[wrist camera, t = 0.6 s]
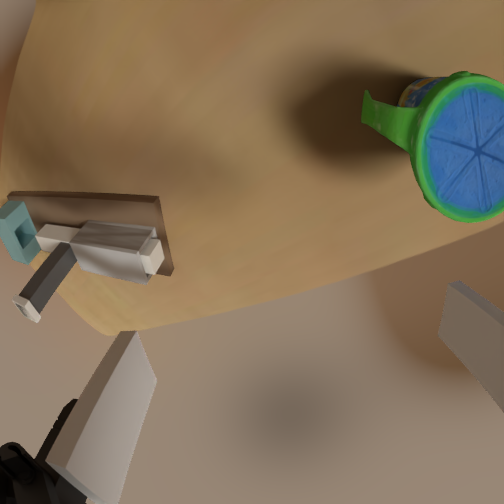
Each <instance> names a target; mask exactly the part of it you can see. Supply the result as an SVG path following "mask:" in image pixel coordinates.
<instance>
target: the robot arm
mask: <svg viewBox="0 0 504 504" xmlns="http://www.w3.org/2000/svg"><path fill="white" fill-rule="evenodd" d="M438 336H439V337H440V338H441V339H442V341H443V342H444V343H445V344H446V345H447V346H448V347H449V348H450V349H451V350H452V351H453V353H455V355H456V356H457V357H458V358H459V359H460V360H461V362H463V364H464V365H465V366H466V367H467V368H468V370H469V371H470V372H471V373H472V374H473V375H474V377H475V378H476V379H477V380H478V381H479V382H480V384H481V385H482V386H483V387H484V388H485V390H486V391H487V392H488V393H489V394H490V396H491V397H492V398H493V400H494V401H495V402H496V403H497V405H498V406H499V407H500V408H501V410H502V411H503V412H504V312H503V311H501V310H500V309H499V308H497V307H496V306H495V305H493V304H492V303H491V302H489V301H488V300H487V299H485V298H484V297H482V296H481V295H480V294H478V293H477V292H475V291H474V290H472V289H471V288H470V287H468V286H467V285H465V284H464V283H462V282H461V281H456V282H453V283H449V284H448V287H447V293H446V299H445V304H444V310H443V315H442V320H441V324H440V328H439V333H438ZM156 383H157V379H156V377H155V375H154V372H153V370H152V368H151V365H150V363H149V361H148V358H147V356H146V353H145V351H144V348H143V346H142V343H141V341H140V338H139V335H138V333H137V331H121V332H120V333H119V335H118V336H117V338H116V339H115V341H114V342H113V344H112V345H111V347H110V348H109V350H108V352H107V353H106V355H105V356H104V358H103V359H102V361H101V363H100V364H99V366H98V367H97V369H96V371H95V372H94V374H93V375H92V377H91V379H90V380H89V382H88V384H87V385H86V387H85V389H84V390H83V392H82V394H81V396H80V397H79V399H73V400H71V401H70V402H69V403H68V404H67V405H66V406H65V407H64V408H63V410H62V411H61V413H60V415H59V416H58V420H56V421H55V423H54V425H53V428H52V429H51V430H50V432H49V434H48V436H47V438H46V439H45V441H44V443H43V445H42V447H41V449H40V450H39V452H38V454H37V456H36V458H35V459H33V458H32V457H31V456H30V455H29V454H28V453H27V452H26V451H25V449H24V448H23V447H22V446H21V445H20V444H18V443H15V442H9V443H6V444H4V445H2V446H1V447H0V504H86V503H85V502H86V499H87V497H88V498H89V499H90V500H92V501H93V502H94V503H96V504H118V503H119V499H120V496H121V492H122V488H123V485H124V482H125V478H126V475H127V472H128V468H129V465H130V462H131V458H132V455H133V452H134V449H135V446H136V443H137V439H138V436H139V433H140V430H141V427H142V424H143V421H144V418H145V415H146V412H147V409H148V406H149V404H150V401H151V398H152V395H153V392H154V389H155V386H156Z"/></svg>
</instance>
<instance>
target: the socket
mask: <svg viewBox="0 0 504 504" xmlns="http://www.w3.org/2000/svg"><path fill="white" fill-rule="evenodd" d="M36 234H37V231H36V229H35V227H34V224H33V222H32V220H31V217H30V215H29V213H28V210H27V208H26V205H25V203H24V201H8V202H7V203H5V204H4V205H3V206H2V207H1V208H0V237H1V239H2V241H3V243H4V245H5V247H6V248H7V250H8V252H9V254H10V256H11V258H12V259H13V260H15V261H18V262H21V263H24V264H27V265H29V263H30V262H31V261H32V260H33V258H34V257H35V256H36V255H37V254H38V253H39V251H40V250H41V247H40V245H39V243H38V241H37V239H36V237H35V235H36Z"/></svg>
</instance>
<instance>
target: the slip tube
mask: <svg viewBox="0 0 504 504" xmlns="http://www.w3.org/2000/svg"><path fill="white" fill-rule="evenodd" d="M79 230H80V229H79V228H71V227H64V226H57V225H50V224H46V225H45V226H44V227H43V228H42V229H41V230H40V231H39V232H38V233H37V234H36V235H35V237H36V239H37V241H38V243H39V245H40V247H41V249H42V251H46V252H51V254H50V255H49V256H48V258H47V259H46V260H45V261H44V263H43V264H42V265H41V266H40V268H39V269H38V270H37V271H36V273H35V274H34V275H33V277H32V278H31V279H30V281H29V282H28V283H27V285H26V286H25V287H24V289H23V290H22V292H21V293H20V294H19V295H15V296H14V297H13V299H12V301H13V302H14V304H15V305H16V307H17V308H18V309H19V310H20V312H21V313H22V314H23V315H24V316H25V317H27V318H29V319H30V320H32V321H34V322H36V323H38V322H39V320H40V319H41V316H40V315H39V314H40V312H41V311H42V309H43V308H44V306H45V305H46V303H47V302H48V300H49V299H50V297H51V296H52V295H53V293H54V292H55V290H56V289H57V287H58V286H59V285H60V283H61V282H62V280H63V279H64V278H65V276H66V275H67V274H68V272H69V271H70V270H71V268H72V267H73V266H74V264H75V263H76V262H77V259H76V257H75V255H74V252H73V250H72V248H71V246H70V244H69V242H70V241H71V239H72V238H73V237H74V236H75V235H76V234H77V233H78V231H79ZM140 257H141V260H142V264H143V267H144V270H145V273H148V274H154V275H155V274H156V272H157V270H158V269H159V267H160V265H161V263H162V262H163V260H164V254H163V250H162V246H161V242H160V240H159V239H150V240H149V242H148V243H147V245H146V246H145V248H144V249H143V250H142V252H141V253H140Z"/></svg>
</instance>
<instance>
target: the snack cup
mask: <svg viewBox="0 0 504 504" xmlns="http://www.w3.org/2000/svg"><path fill="white" fill-rule="evenodd" d="M361 123H364V124H367V125H369V126H371V127H372V128H374V129H375V130H376V131H377V132H379V133H380V134H381V135H383V136H385V137H387V138H388V139H389V140H391V141H392V142H394V143H395V144H396V145H398V146H400V147H401V148H402V149H404V150H405V151H407V152H408V153H409V154H410V161H411V165H412V169H413V172H414V175H415V178H416V181H417V183H418V185H419V187H420V189H421V190H422V192H423V196H424V199H425V200H426V201H427V202H428V204H429V205H430V206H431V207H433V208H435V209H437V210H438V211H439V212H440V213H442V214H443V215H445V216H447V217H449V218H450V219H453V220H455V221H460V222H466V223H473V222H481V221H485V220H488V219H490V218H493V217H495V216H497V215H498V214H500V213H502V212H503V211H504V85H503V84H502V83H500V82H498V81H497V80H494V79H492V78H490V77H487V76H484V75H481V74H474V73H469V72H468V71H461V72H457V73H453V74H452V75H450V76H449V77H427V78H424V79H419V80H416V81H415V82H413V83H411V84H410V85H409V86H408V87H407V88H406V89H405V90H404V91H403V93H402V95H401V97H400V99H399V102H398V104H397V107H396V106H392V105H389V104H386V103H383V102H378V101H375V100H372V98H371V96H370V92H369V90H365V92H364V98H363V105H362V114H361Z"/></svg>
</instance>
